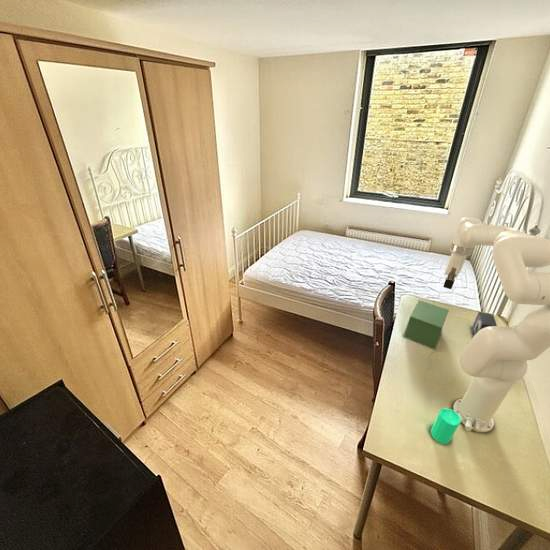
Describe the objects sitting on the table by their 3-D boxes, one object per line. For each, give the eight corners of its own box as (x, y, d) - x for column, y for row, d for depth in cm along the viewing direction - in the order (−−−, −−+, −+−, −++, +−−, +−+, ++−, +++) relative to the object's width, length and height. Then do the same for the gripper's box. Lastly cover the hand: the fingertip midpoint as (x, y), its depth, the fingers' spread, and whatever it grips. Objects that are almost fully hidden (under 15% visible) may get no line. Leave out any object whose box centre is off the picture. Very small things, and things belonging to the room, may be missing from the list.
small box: (470, 327, 148) (478, 310, 143) (485, 330, 146) (493, 314, 141) (473, 340, 140) (481, 323, 134) (489, 344, 138) (498, 327, 132)
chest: (434, 348, 134) (442, 328, 128) (403, 336, 141) (410, 316, 135) (440, 330, 145) (448, 311, 139) (412, 320, 152) (418, 301, 146)
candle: (452, 434, 99) (464, 412, 93) (447, 447, 95) (459, 425, 89) (434, 423, 103) (444, 401, 97) (428, 435, 99) (438, 413, 93)
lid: (442, 329, 128) (442, 327, 127) (409, 317, 134) (410, 316, 134) (448, 311, 139) (448, 309, 139) (418, 301, 146) (418, 299, 146)
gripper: (453, 240, 124) (441, 278, 133) (448, 252, 113) (434, 292, 122) (474, 245, 120) (459, 283, 129) (470, 257, 109) (454, 298, 118)
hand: (447, 287), depth 126 cm, fingers closed
